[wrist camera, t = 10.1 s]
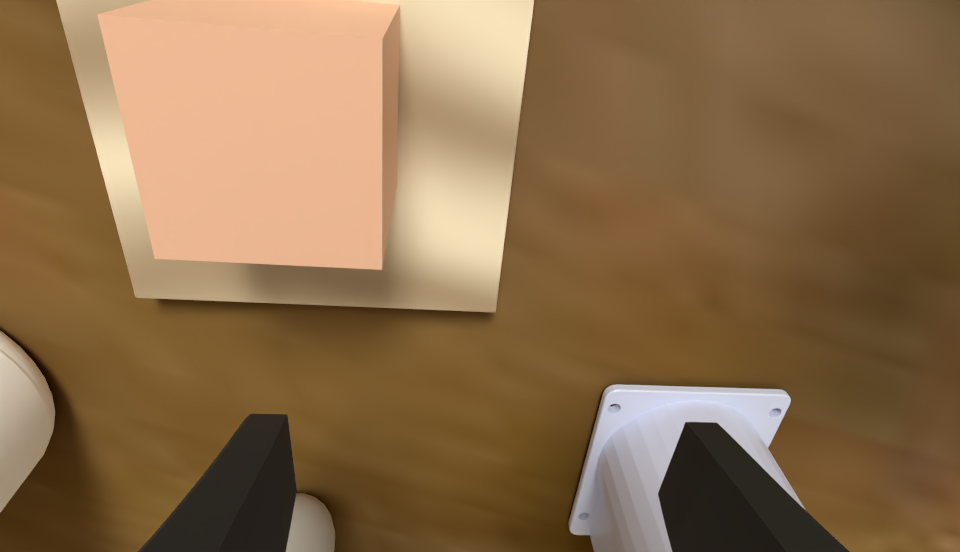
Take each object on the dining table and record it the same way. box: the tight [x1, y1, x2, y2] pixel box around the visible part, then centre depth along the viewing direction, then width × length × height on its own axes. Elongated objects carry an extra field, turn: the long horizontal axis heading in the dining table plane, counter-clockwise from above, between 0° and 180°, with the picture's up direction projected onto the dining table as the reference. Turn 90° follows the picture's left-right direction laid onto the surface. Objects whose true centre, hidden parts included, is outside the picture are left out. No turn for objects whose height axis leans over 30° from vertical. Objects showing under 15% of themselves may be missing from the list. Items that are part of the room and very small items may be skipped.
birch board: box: [56, 0, 534, 312], centre depth 17 cm, size 14×12×1 cm
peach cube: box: [97, 0, 400, 270], centre depth 14 cm, size 5×5×5 cm
